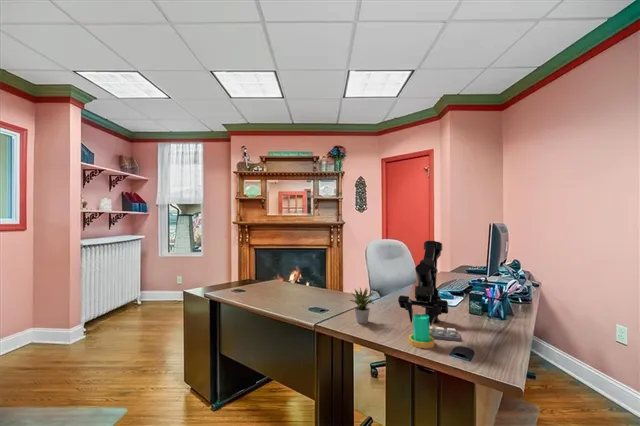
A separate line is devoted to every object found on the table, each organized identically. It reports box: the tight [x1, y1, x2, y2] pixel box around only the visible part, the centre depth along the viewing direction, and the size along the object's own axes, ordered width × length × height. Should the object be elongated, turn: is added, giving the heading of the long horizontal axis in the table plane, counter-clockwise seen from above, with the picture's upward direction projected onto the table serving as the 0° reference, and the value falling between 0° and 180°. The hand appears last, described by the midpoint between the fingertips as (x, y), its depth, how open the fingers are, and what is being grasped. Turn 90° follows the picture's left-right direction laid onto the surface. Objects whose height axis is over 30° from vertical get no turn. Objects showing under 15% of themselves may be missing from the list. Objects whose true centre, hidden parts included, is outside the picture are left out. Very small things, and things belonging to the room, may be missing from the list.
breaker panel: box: [430, 326, 461, 342], centre depth 127 cm, size 9×14×2 cm, turn 74°
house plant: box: [349, 287, 378, 325], centre depth 143 cm, size 14×14×16 cm
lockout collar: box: [408, 333, 435, 349], centre depth 119 cm, size 9×9×2 cm
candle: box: [412, 313, 431, 342], centre depth 119 cm, size 6×6×12 cm
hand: (420, 323), depth 118 cm, fingers open, 7 cm apart
